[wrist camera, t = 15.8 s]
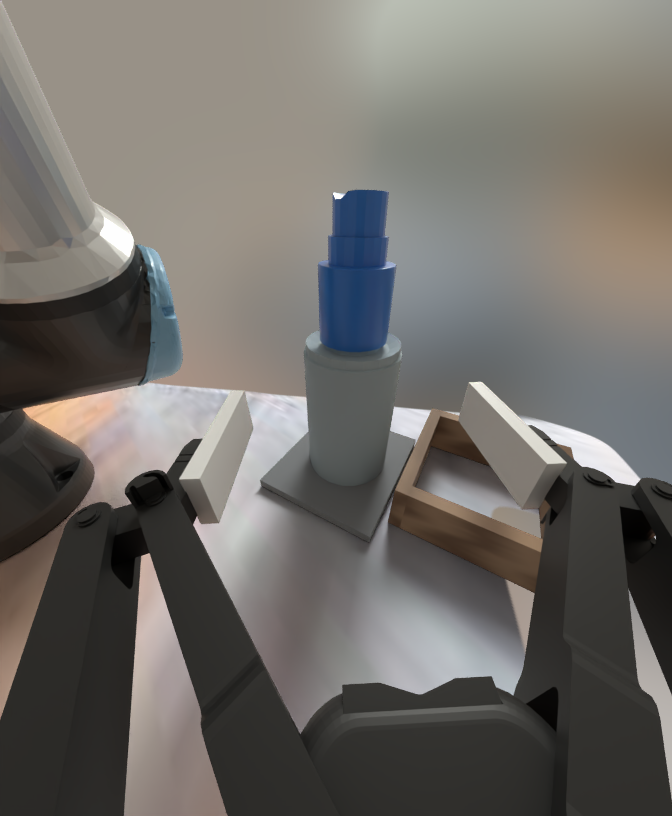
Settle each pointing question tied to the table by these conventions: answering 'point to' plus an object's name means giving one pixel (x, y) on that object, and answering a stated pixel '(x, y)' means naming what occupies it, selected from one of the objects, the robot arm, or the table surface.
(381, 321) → the spray bottle
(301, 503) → the rubber mat
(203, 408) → the table surface
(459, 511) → the walnut collar
